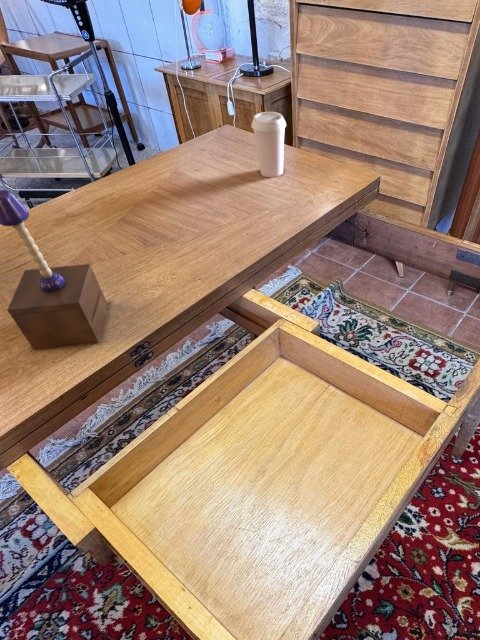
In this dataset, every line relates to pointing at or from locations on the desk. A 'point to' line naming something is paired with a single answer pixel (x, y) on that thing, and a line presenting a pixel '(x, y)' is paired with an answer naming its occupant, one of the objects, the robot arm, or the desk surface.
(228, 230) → the desk surface
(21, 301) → the lidded wooden box
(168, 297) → the desk surface
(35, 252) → the toy lamp
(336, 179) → the desk surface
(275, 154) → the coffee cup
